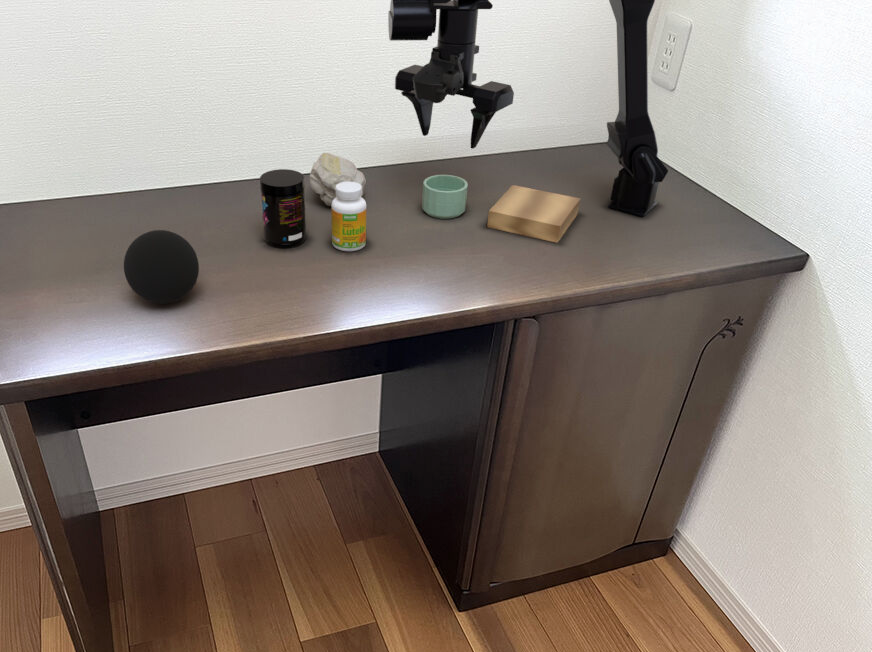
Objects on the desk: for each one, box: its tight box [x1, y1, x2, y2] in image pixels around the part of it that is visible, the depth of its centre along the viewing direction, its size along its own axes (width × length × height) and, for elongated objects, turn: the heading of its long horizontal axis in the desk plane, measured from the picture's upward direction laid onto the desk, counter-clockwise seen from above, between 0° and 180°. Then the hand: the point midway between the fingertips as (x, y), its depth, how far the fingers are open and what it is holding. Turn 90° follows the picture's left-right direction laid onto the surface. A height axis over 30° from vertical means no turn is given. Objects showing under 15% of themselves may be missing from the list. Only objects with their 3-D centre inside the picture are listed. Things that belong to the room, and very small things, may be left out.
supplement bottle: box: [330, 182, 367, 252], centre depth 124 cm, size 5×5×10 cm
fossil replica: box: [309, 152, 367, 207], centre depth 137 cm, size 12×8×10 cm
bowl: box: [421, 174, 469, 220], centre depth 135 cm, size 7×7×5 cm
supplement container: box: [259, 168, 307, 249], centre depth 124 cm, size 7×7×10 cm
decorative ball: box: [123, 229, 200, 305], centre depth 110 cm, size 10×10×10 cm
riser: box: [486, 184, 581, 244], centre depth 133 cm, size 12×12×3 cm
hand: (448, 141), depth 130 cm, fingers open, 9 cm apart
